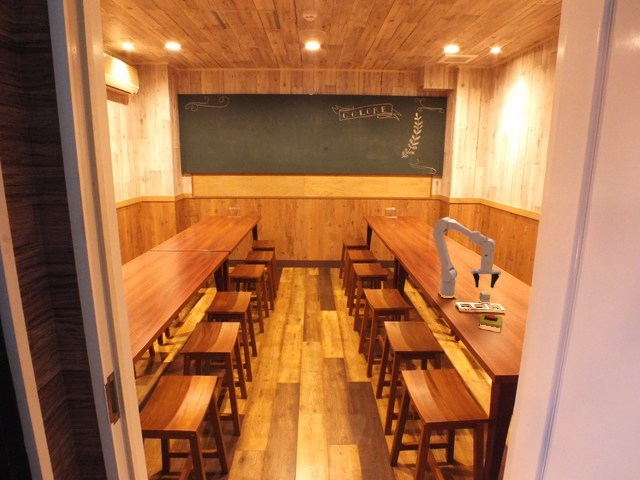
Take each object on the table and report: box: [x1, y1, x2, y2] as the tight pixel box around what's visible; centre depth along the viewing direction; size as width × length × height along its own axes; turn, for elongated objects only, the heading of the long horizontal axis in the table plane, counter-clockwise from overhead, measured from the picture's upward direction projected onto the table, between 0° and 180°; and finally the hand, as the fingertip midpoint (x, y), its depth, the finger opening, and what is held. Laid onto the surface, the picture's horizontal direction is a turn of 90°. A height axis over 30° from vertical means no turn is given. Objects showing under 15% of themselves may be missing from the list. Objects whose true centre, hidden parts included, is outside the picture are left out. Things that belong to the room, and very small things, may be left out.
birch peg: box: [478, 291, 491, 303], centre depth 209 cm, size 4×4×6 cm
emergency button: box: [478, 313, 503, 329], centre depth 183 cm, size 9×4×15 cm
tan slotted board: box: [455, 301, 506, 312], centre depth 201 cm, size 8×22×2 cm, turn 86°
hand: (484, 287), depth 206 cm, fingers open, 7 cm apart
